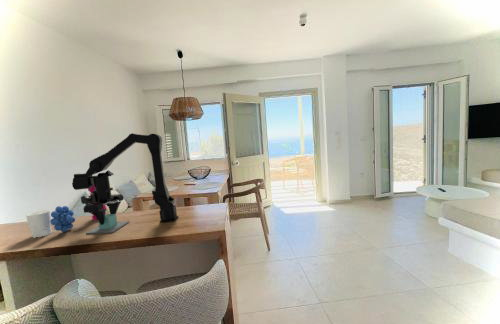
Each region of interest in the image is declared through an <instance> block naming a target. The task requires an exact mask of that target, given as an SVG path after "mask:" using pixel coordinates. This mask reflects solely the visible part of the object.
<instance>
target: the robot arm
mask: <svg viewBox="0 0 500 324" xmlns="http://www.w3.org/2000/svg"><path fill="white" fill-rule="evenodd" d="M135 144H144V145H145V144H146V145H147V148H148V150H149V153H150V155H151V160H152V168H153V174H154V175H153V177H154V183H155V188H153V189H152V190H151V194H152V201H154V203H155V205H157V206H159V218H160V220H159V222H160V223H167V222H170V223H171V222H175V221H176V220H177V219H178V218H179V215H178V214H177V205H175V201H176V199H175V198H174V197H172V196H171V195H170V192H169V189H168V187H167V185H166V182H165V174H164V166H163V160H162V157H163V156H162V148H163V138H162V136H161V135H160V134H158V133H150V134H148V135H146V134H139V133H138V134H137V133H130V134H129V135H128V136H127V137H125V138H124V139H123V140H122V141H120V142H119V143H117V144H116V145H115V146H114V147H112V148H111V149H109V151H107V152H106V153H105V152H104V154H101V155H99V156H97V157H95V158H93V159H91V160H90V161H89V164H88V169H87V170H86V172H85V173H74V174H73V178H72V183H71V185H72V188H73V189H74V190H75V191H78V190H79V191H80V190H88V189H89V188H92V186H93V185H94V186H95V190H94V191H93V192H92V193H93V195H90V194H89V195H87V194H85V195H83V196H81V197H80V202H81V204H83V205H84V204H85V205H84V206H83V209H82V210H83V214H84V213H90V214H91V213H92V214H94V215H95V216H96V218H97V219H98V220H97V222H98V221H99V223H100V224H101V225H103V224H104V219H105V213H106V211H107V210H106V209H103V206H104V205H106V207H108V210H109V214H116V215H117V212H118V209H119V206H120V205H121V203H122V201H123V200H125V199H124V195H123V194H122V193H117V194H116V193H115V194H112V191H113V189H114V187H111V184H110V177H112V176H114V172H111V171H110V170H108V169H109V167H110V166H111V165H113V164H112V163H114V161H115V160H116V159H117V158H119V156H121V155H122V154H124V153H125V152H126V151H127V150H128V149H130V148H131V147H132V146H133V145H135ZM103 171H104V172H103ZM96 174H97V175H96ZM97 202H98V203H97ZM105 210H106V211H105ZM92 214H91V215H92ZM99 223H98V224H99Z"/></svg>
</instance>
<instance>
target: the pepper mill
mask: <svg viewBox="0 0 500 324" xmlns="http://www.w3.org/2000/svg"><path fill="white" fill-rule="evenodd" d="M94 190H95V186H94V185H93V186H92V188H89V189H87V191H88V192H89V196H90V195H93V193H92V192H93V191H94ZM97 203H98V202H97ZM103 209H106V210H105V214H107V213H106V212H107V205H104V206H103ZM90 214H91V215H92V216H91V218H92V220H93V221H98V219H97V218H96V216H95V215H94V214H92V213H90Z"/></svg>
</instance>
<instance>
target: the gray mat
mask: <svg viewBox="0 0 500 324" xmlns="http://www.w3.org/2000/svg"><path fill="white" fill-rule="evenodd" d="M129 223H130V221H129V220H128V221H117V225H116V226H114V227H112V228H111V229H99V225H98V226H96V227H94V228H93V229H90V230H88V231H87V232H86V233H85V234H86V235H96V234H97V235H99V234H114V233H116V232H117V231H118V230H120V229H122V228H123V227H124V226H126V225H128V224H129Z"/></svg>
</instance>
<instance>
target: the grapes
mask: <svg viewBox="0 0 500 324" xmlns="http://www.w3.org/2000/svg"><path fill="white" fill-rule="evenodd" d="M50 216H51V221H50V223H51V225H53V228H54V231H58V232H59V231H60V232H61V233H66V232H68V230H71V229H73V227H74V224H73V223H74V222H76V217H74V210H71V209H70V208H69V207H68V206H66V205H63V206H60V205H59V206H56V207H55V210H53V211H52V212H50Z"/></svg>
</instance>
